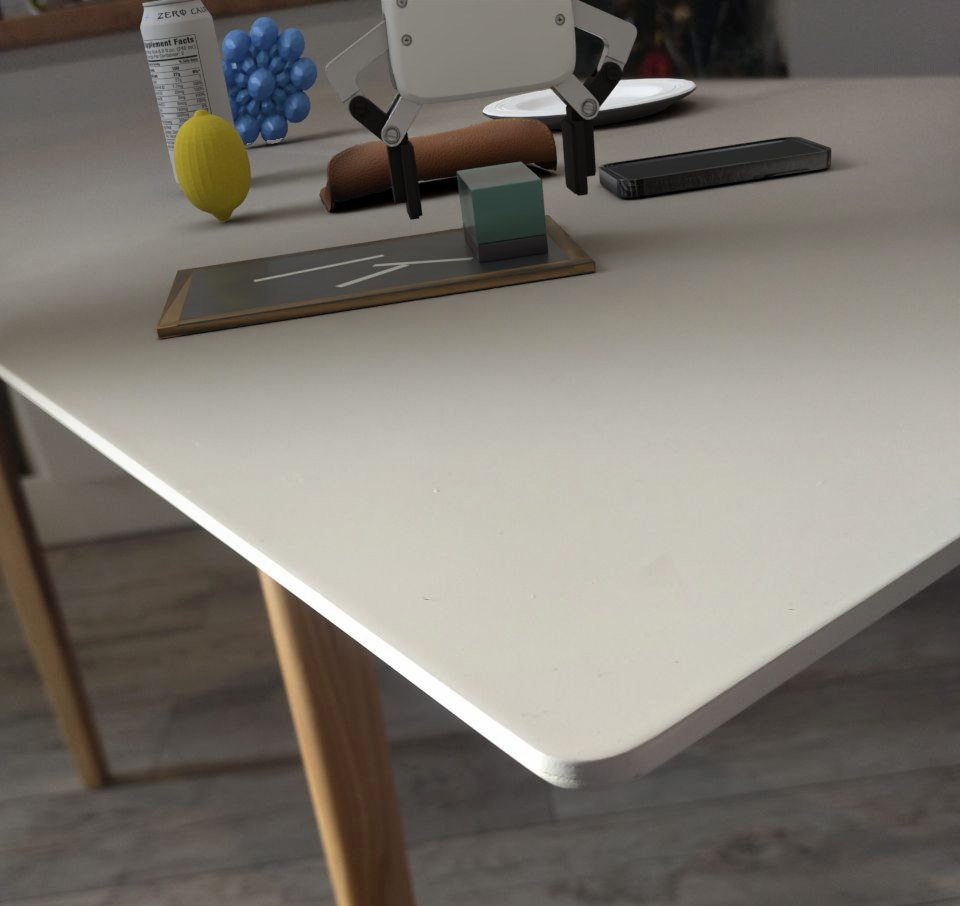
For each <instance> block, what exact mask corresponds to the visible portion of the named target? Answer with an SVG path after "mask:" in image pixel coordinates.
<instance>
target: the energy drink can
mask: <svg viewBox="0 0 960 906" xmlns="http://www.w3.org/2000/svg"><path fill="white" fill-rule="evenodd" d="M142 7H143V14H142V18H141V21H140V22H141V23H140V27H139V29H140V33H141V37H142V42H143V46H144V50H145V55H146V58H147V63H148V69H149V71H150V76H151V81H152V85H153V89H154V94H155V97H156V98H155V99H156V102H157V107H158V112H159V116H160V119H161V124H162V128H163V133H164V137H165V141H166V145H167V150H168V154H169V159H170V163H171V167H172V172H173V177H174V180H175V183H176V184H177V185H178V186H180V184H179V182H178V179H177V175H176V171H175V165H174V143H175V138H176V135H177V133H178V131H179V129H180V128H181V126H182V125H183V124H184V123H185V122H186V121H187V120H189V119H190V118H192V117H193V116H194V114H195V112H196V111H197V110H200V109H203V110H206V111H207V112H208V113H209V114H212V115H216V116H218V117H221V118H223V119H224V120H226V121H227V122H229V123H230V124H231V125H232V126H233V127H234V122H233V117H232V112H231V107H230V102H229V97H228V92H227V87H226V82H225V77H224V73H223V68H222V63H221V60H222V58H221V54H220V49H219V48H220V47H219V43H218V39H217V33H216V28H215V23H214V19H213V16H212V14H211V13H210V12H209V10H208V9H207V7H206V6H205V5H204V3H203V2H202V0H154V1H147V2H142ZM234 128H235V127H234Z"/></svg>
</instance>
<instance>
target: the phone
mask: <svg viewBox="0 0 960 906" xmlns="http://www.w3.org/2000/svg"><path fill="white" fill-rule="evenodd" d="M831 166H832V148H831V147H830V146H828V145H825V144H821V143H818V142H816V141H813V140H810V139H807V138H805V137H801V136H784V137H783V136H782V137H776V138H770V139H762V140H756V141H750V142H743V143H736V144H729V145H723V146H716V147H709V148H703V149H696V150H695V149H694V150H689V151H682V152H681V151H680V152H676V153H671V154H670V153H669V154H662V155H654V156H649V157H643V158H642V157H641V158H635V159H627V160H621V161H615V162H609V163H604V164H601V165H599V166H598V178H599V184H600V185H601V186H603V187H604V188H605V189H607V190H608V191H609V192H611V193H612V194H614V195H615V196H617V197H618V198H638V197H645V196H650V195H652V196H653V195H657V194H665V193H672V192H678V191H686V190H691V189H697V188H705V187H712V186H717V185H723V184H724V185H725V184H732V183H737V182H745V181H750V180H751V181H752V180H759V179H763V178H771V177H777V176H785V175H791V174H797V173H804V172H810V171H816V170H817V171H819V170H823V169H827V168H829V167H831Z"/></svg>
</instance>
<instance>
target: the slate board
mask: <svg viewBox="0 0 960 906" xmlns="http://www.w3.org/2000/svg"><path fill="white" fill-rule="evenodd" d="M545 220H546V231H547V234H546V235H547V242H548V253H544V254H537V255H531V256H524V257H517V258H511V259H504V260H498V261H491V262H485V263H479V261H478V260H477V258H476V256H475V255H474V253H473V251H472V250H471V248H470V246H469V245H468V243H467V242H466V240H465V238H464V230H463V227H457V228H451V229H445V230H438V231H431V232H423V233H417V234H412V235H404V236H397V237H392V238H391V237H390V238H385V239H377V240H371V241H364V242H357V243H351V244H344V245H338V246H331V247H325V248H319V249H318V248H317V249H312V250H304V251H297V252H292V253H284V254H279V255H272V256H265V257H258V258H252V259H246V260H239V261H231V262H225V263H218V264H212V265H205V266H199V267H191V268H186V269H178V270H177V271H176V273H175V275H174V279H173V282H172V284H171V287H170V289H169V292H168V295H167V297H166V299H165V303H164V306H163V308H162V311H161V314H160V316H159V319H158V321H157V323H156V326H155V332H156V336H157V339H158V340H160V339H168V338H174V337H175V338H176V337H180V336H186V335H194V334H199V333H200V334H201V333H206V332H213V331H219V330H220V331H221V330H226V329H233V328H240V327H245V326H252V325H258V324H265V323H271V322H278V321H286V320H291V319H292V320H293V319H297V318H304V317H305V318H306V317H311V316H317V315H318V316H319V315H323V314H330V313H337V312H343V311H350V310H351V311H352V310H357V309H362V308H370V307H376V306H382V305H389V304H395V303H401V302H402V303H403V302H410V301H417V300H422V299H429V298H434V297H435V298H436V297H442V296H449V295H454V294H462V293H468V292H474V291H481V290H486V289H493V288H500V287H507V286H513V285H519V284H526V283H532V282H538V281H544V280H552V279H559V278H565V277H572V276H578V275H584V274H590V273H592V274H593V273H596V270H597V268H596V267H597V266H596V261H595V260H594V259H593V257H591V256H590V255H589V254H588V253H587V252H586V250H585V249H584V248H583V247H581V246H580V245H579V244H578V243H577V242H576V241H575V239H573V237H571V235H570V234H568V233H567V231H565V229H564V228H562V226H560V224H559V223H558V222H556V220H555V219H554V218H553V217H552V216H551V215H550V214H545Z"/></svg>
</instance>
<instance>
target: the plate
mask: <svg viewBox="0 0 960 906" xmlns="http://www.w3.org/2000/svg"><path fill="white" fill-rule="evenodd" d="M696 90H697V85H696V84H695V82H694V81H692V80H687V79H681V78H666V77H665V78H664V77H663V78H662V77H661V78H636V79H634V78H633V79H621V80H620V81H619V83H618V84H617V85H616V87H615V88H614V89H613V91H612V92H611V93H610V95H609V96H608V97H607V99H606V100H605V101H604V103H603V104H602V105H601V107H600V108H599V112H598V114H597V116H596V117H594V118H593V127H597V126H606V125H611V124H617V123H623V122H629V121H632V120H633V121H634V120H638V119H641V118H645V117H648V116H651V115H652V116H653V115H655V114H657V113H660V112H662V111H664V110H665V109H667V108H668V107H669V106H671V105H672V104H674V103H677V102H679V101H682V99H684V98H686V97H688V96H690V95H691V94H693V92H695V91H696ZM482 115H483V116H485V117H487V118H489V119H491V120H495V119H505V118H528V119H537V120H539V121H541V122H543V123H544V124H545V125H546V126H547V127H548V128H549V129H550V130H562V126H561V120H563V119H564V116H566V105H565V104H564V103H563V101H562V100H561V99H560V98H559V97H558V96H557V95H556V94H555V93H554V92H553V91H552V90H551V89H550V88H546V89H541V90H535V91H530V92H526V93H522V94H518V95H513V96H510V97H506V98H503V99H500V100H496V101H493V102H491V103H490V104H487V105H485V106H484V107H483V110H482Z"/></svg>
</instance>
